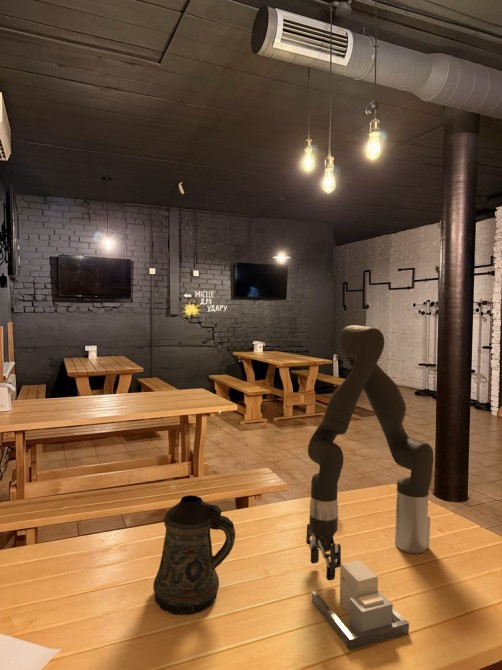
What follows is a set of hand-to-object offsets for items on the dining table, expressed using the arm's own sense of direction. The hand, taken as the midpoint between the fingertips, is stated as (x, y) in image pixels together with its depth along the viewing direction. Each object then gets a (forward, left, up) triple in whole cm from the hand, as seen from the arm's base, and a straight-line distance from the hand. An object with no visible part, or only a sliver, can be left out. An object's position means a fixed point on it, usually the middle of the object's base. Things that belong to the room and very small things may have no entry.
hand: (322, 570), depth 125 cm
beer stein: (+35, -4, -2) cm, 35 cm away
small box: (-1, +16, -2) cm, 16 cm away
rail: (0, +17, -2) cm, 17 cm away
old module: (0, +22, -2) cm, 22 cm away
